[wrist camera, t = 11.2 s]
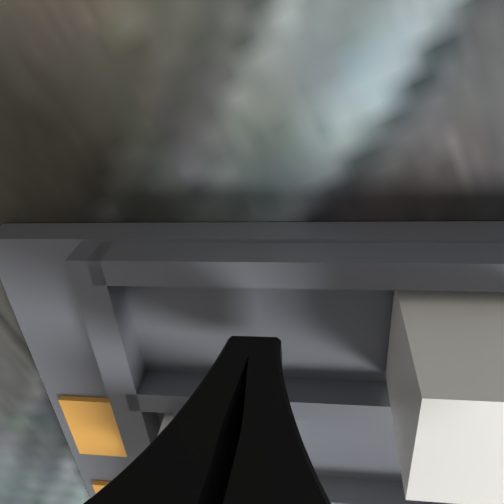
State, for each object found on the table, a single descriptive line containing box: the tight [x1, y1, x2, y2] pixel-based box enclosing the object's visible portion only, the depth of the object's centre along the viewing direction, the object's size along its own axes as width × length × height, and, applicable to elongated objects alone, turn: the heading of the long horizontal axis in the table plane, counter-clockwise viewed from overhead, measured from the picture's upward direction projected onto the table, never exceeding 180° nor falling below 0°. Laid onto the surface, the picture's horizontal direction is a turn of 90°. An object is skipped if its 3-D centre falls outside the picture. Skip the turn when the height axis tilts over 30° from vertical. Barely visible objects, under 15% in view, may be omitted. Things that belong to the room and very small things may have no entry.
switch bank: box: [0, 221, 504, 504], centre depth 16 cm, size 16×21×2 cm
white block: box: [385, 290, 504, 504], centre depth 12 cm, size 3×4×4 cm
